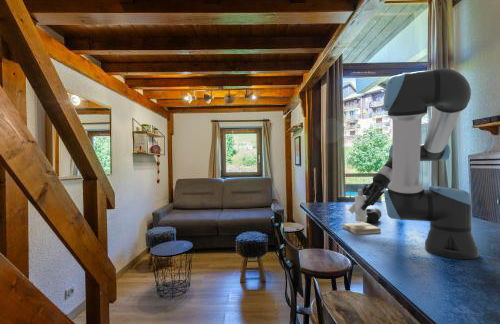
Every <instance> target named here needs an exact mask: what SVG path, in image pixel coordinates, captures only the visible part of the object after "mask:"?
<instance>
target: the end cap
mask: <svg viewBox="0 0 500 324" xmlns="http://www.w3.org/2000/svg"><path fill="white" fill-rule="evenodd" d="M366 209H367V221H366V223H368V224H371V225H375V224H377V223H378V222H379V220H380V219H381V217H382V211H381V210H380V209H378V208H372V209H371V208H366Z"/></svg>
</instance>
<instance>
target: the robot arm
mask: <svg viewBox="0 0 500 324" xmlns="http://www.w3.org/2000/svg"><path fill="white" fill-rule="evenodd" d="M471 97H472V89H471V85H470V83H469V82H468V80H467V78H466V77H465V76H464V75H463V74H461V73H460V72H459V71H456V70H454V69H451V68H436V69H428V70H421V71H413V72H408V73H401V74H397V75H392V76H390V77H388V79H387V80H386V84H385V89H384V95H383V105H382V109H383V111H384V112H387V116H388V117H389V118H390V119H391V120H392V144H391V146H390V147H389V150H388V153H389V154H388V159H387V161H386V162H385V163H384V165H383V166H382V167H381V168H380V169H379V170H378V171H377V173H375V175H374V176H373V177H372V182H371V183H370V184H365V185H364V187H363V188H362V189H361V190H363V195H365V196H366V201H364V202H365V203H364V202H363V203H362V204H361V205H360V206H359V207H358V209H357V210H356V211H355V202H353V203H352V205H351V206H350V207H349V208H348V209H347V211H349V212H350V213H351V214H352V215H353V214H354V213H356V214H357V215H358V216H360V215H361V214H362V213H363V211H364V210H365V209H368V207H370V206H375V204H376V203H377V201H378V200H379V199H380V198H381V197H382V196H383V195H384V201H385V208H386V212H387V213H386V214H387V217H389V218H390V219H393V220H400V221H415V222H416V221H418V222H429V231H428V233H427V237H426V239H425V241H424V249H425V250H426V251H428V252H430V253H432V254H434V255H438V256H441V257H444V258H451V259H456V260H475V259H478V258H479V257H480V253H479V252H480V251H479V250H480V249H479V248H478V246H477V245H476V242H475V239H474V236H473V233H472V205H473V204H472V201H471V194H470V193H469V192H468V191H466V190H464V189H459V188H453V187H447V186H438V185H430V186H429V187H428V189H425V187H424V185H423V184H422V183H420V171H421V169H420V166H421V162H442V161H447V160H449V158H450V155H451V149H450V145H449V144H448V141H449V139H450V137H451V135H452V133H453V130H454V128H455V126H456V123H457V121H458V119H459V117H460V114H461V112H462V111H464V110H466V108H467V107H468V104H470V100H471ZM429 107H433V108H434V109H433V112H432V116H431V117H430V122H429V125H428V129H427V131H426V135H425V139H424V142H423V144H422V143H421V142H422V119H423V117H425V116H427V114H428V108H429Z"/></svg>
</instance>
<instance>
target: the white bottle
mask: <svg viewBox="0 0 500 324" xmlns="http://www.w3.org/2000/svg"><path fill="white" fill-rule="evenodd" d="M366 199H367V198H366V196H365V195H363V190H362V189H360V188H358V189H357V194H356V195H354V203H355V211H356V210H357V209H358V207H359V206H360V205H361V204H362V203H363V202H364V201H366ZM364 203H365V202H364ZM367 209H368V208H366V209H365V210H364V211H363V213H362V214H361V215H360V216H358V215H357V214H356V213H355V212H354V213H355V214H354V215H355V218H354V219H355V221H356V222H358V223H362V222H366V221H367Z"/></svg>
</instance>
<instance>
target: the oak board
mask: <svg viewBox="0 0 500 324" xmlns="http://www.w3.org/2000/svg"><path fill="white" fill-rule="evenodd" d="M342 228H343V229H345V230H347V231H348V232H350V233H353V234H354V235H367V234H380V233H382V231H381V230H382V229H381V227H377V226H375V225H374V224H369V223H366V222H350V223H349V222H348V223H345V222H344V223H342Z"/></svg>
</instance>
